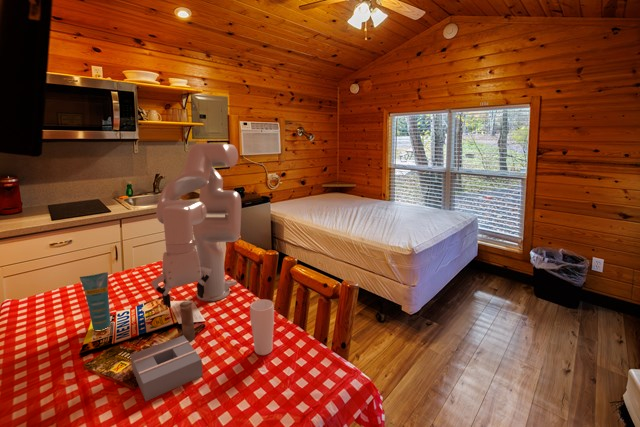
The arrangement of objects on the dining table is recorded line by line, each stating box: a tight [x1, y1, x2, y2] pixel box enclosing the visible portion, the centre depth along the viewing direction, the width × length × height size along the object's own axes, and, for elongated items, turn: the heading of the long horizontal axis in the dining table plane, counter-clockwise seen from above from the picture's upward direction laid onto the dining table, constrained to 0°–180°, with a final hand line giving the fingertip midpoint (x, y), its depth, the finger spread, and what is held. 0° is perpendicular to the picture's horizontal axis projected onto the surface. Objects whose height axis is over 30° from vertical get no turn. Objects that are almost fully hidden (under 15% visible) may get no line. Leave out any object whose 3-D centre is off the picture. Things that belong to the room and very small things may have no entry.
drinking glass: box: [249, 298, 275, 356], centre depth 99 cm, size 7×7×15 cm
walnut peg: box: [179, 300, 196, 343], centre depth 105 cm, size 4×4×12 cm
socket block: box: [130, 334, 204, 402], centre depth 90 cm, size 14×14×5 cm
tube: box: [79, 271, 111, 331], centre depth 109 cm, size 7×5×19 cm, turn 123°
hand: (184, 301), depth 102 cm, fingers open, 9 cm apart
